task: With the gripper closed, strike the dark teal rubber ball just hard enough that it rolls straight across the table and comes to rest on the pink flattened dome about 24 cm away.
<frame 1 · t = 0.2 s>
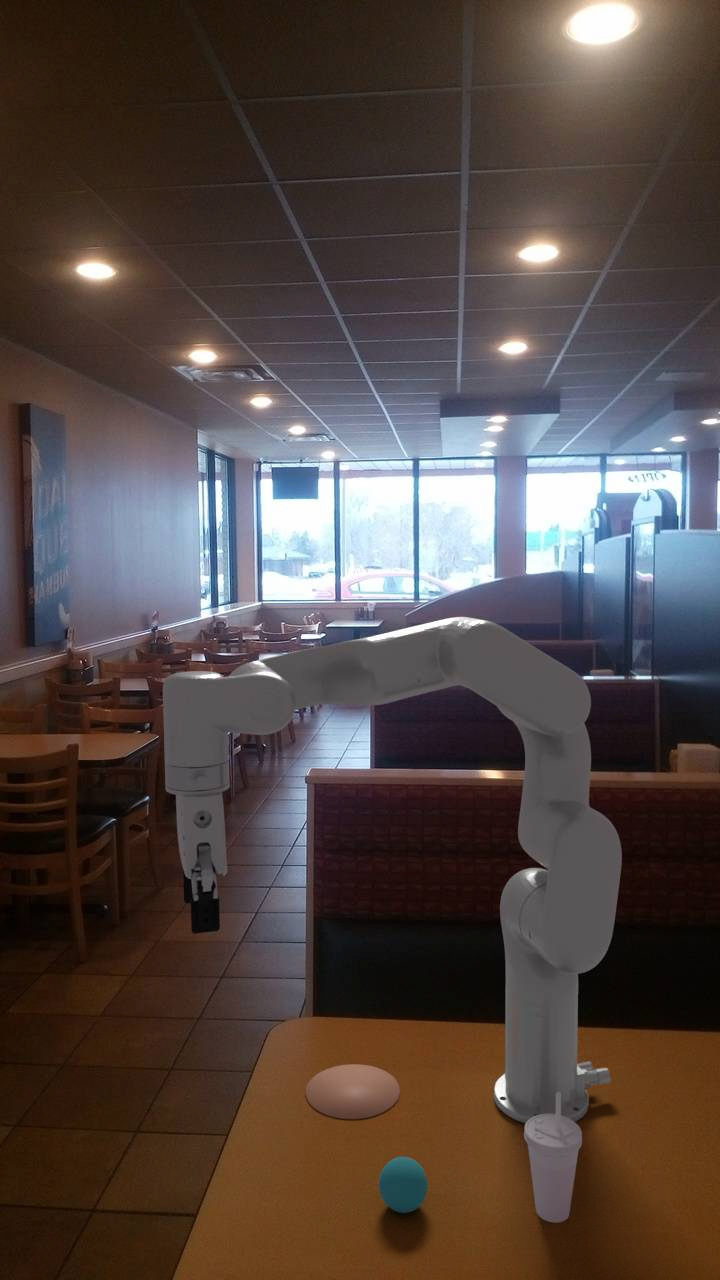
hand: (201, 915, 113), 31 cm above the table, tool pointing down, fingers open, 9 cm apart
ball: (403, 1184, 106), on the table
smoothie: (552, 1212, 106), on the table
pink flattened dome: (352, 1091, 130), on the table
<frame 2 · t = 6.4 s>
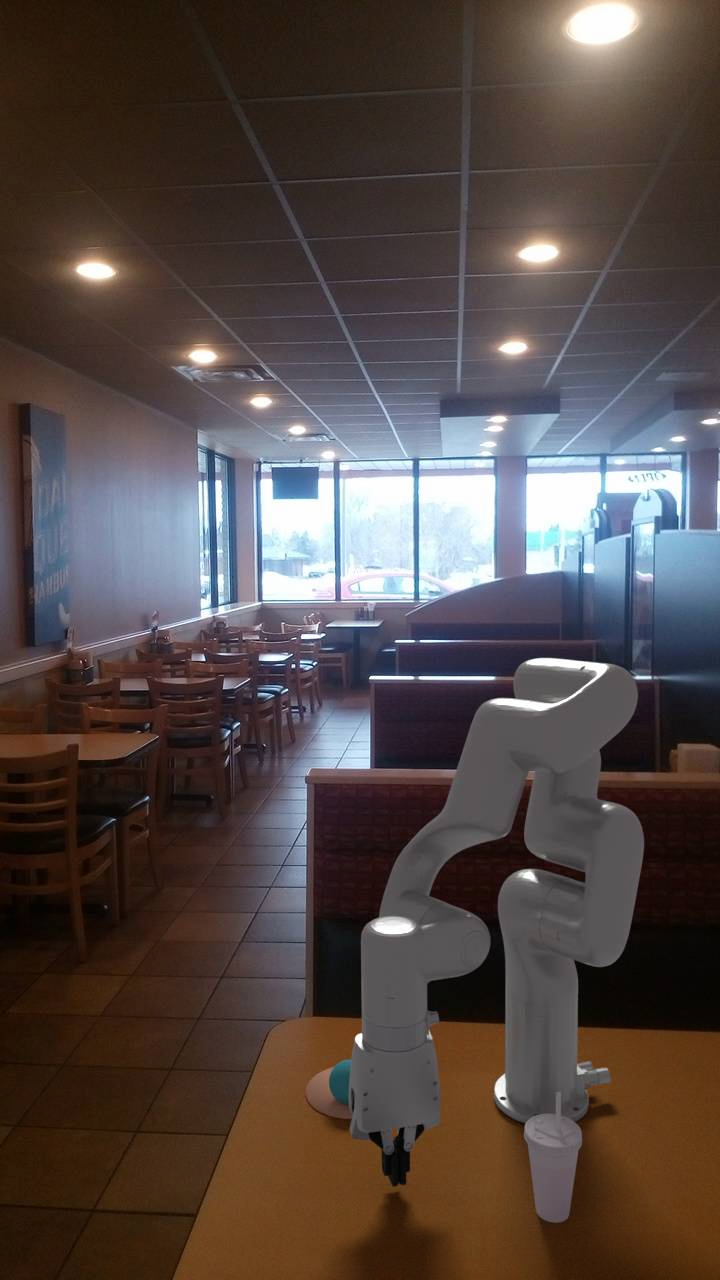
hand: (395, 1177, 109), 1 cm above the table, tool pointing down, fingers closed
ball: (349, 1081, 127), resting on pink flattened dome
everything else where it was.
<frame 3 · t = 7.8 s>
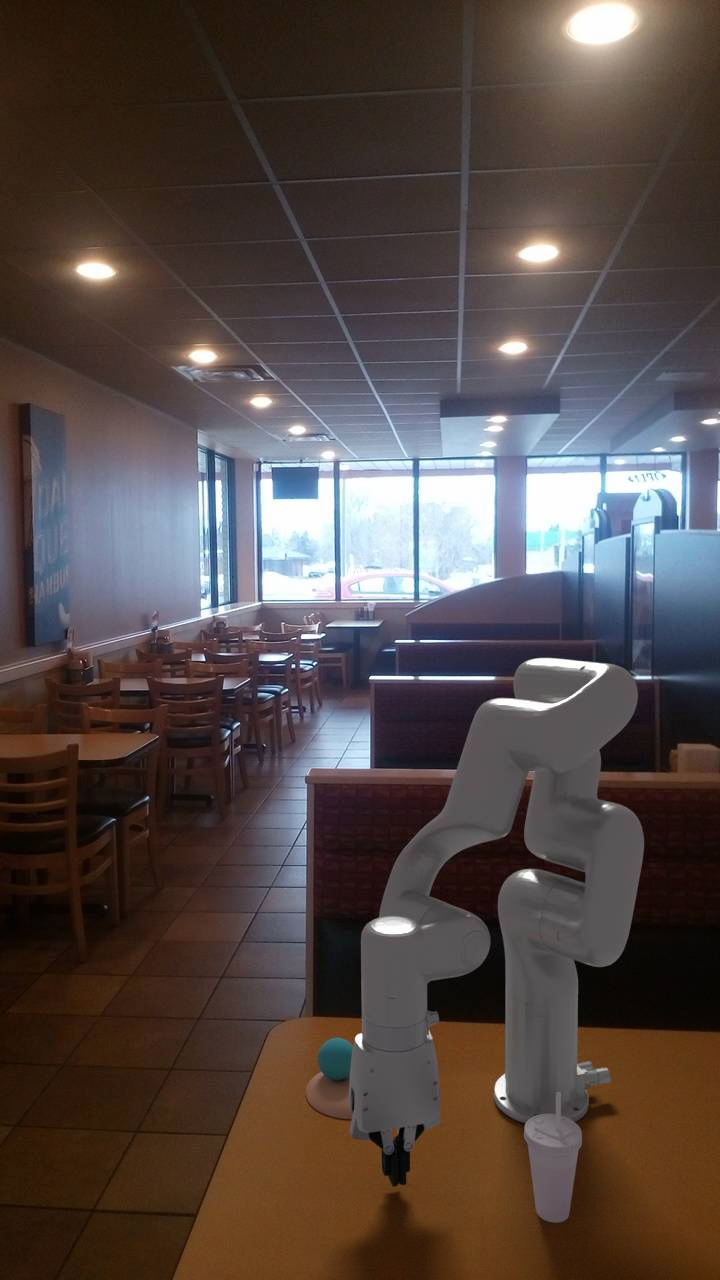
hand: (395, 1177, 109), 1 cm above the table, tool pointing down, fingers closed
ball: (337, 1058, 133), resting on pink flattened dome
everything else where it was.
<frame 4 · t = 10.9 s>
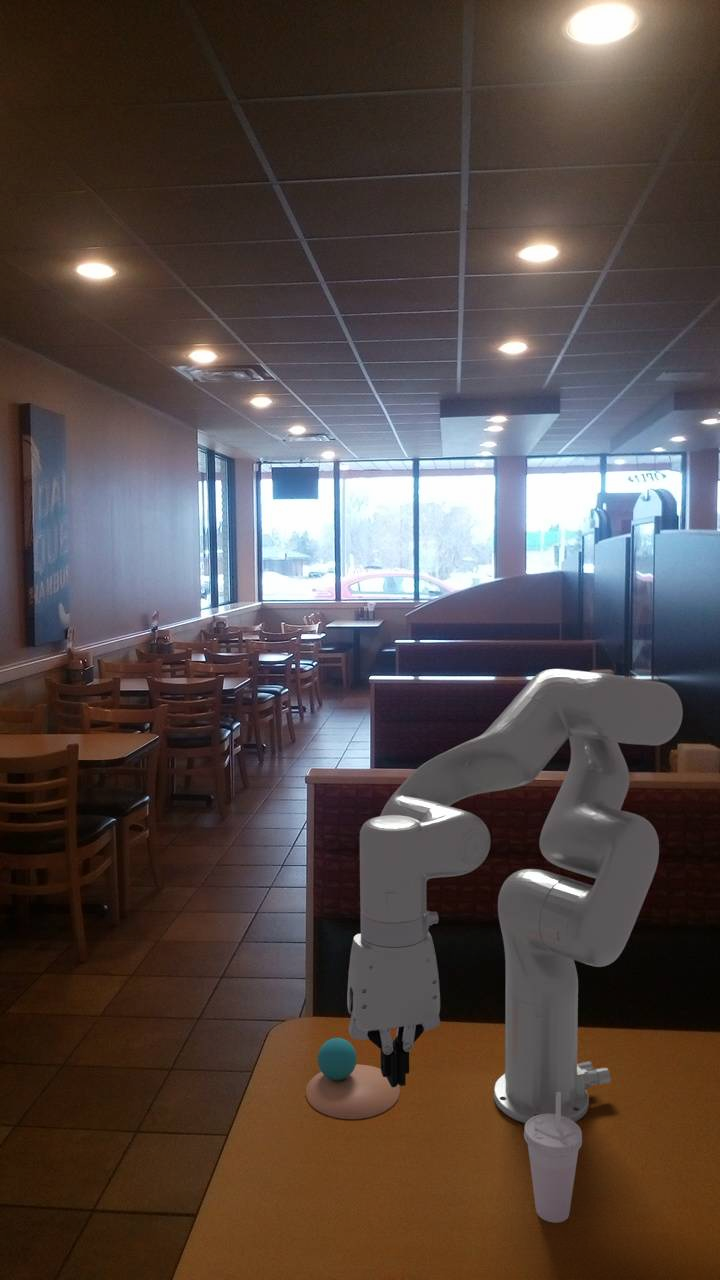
hand: (395, 1079, 108), 13 cm above the table, tool pointing down, fingers closed
nothing on the table moved.
at the end: ball 4.1 cm from the pink flattened dome (horizontally); ball at rest at the end (0.0 cm/s); ball moved 27.9 cm from its start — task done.
